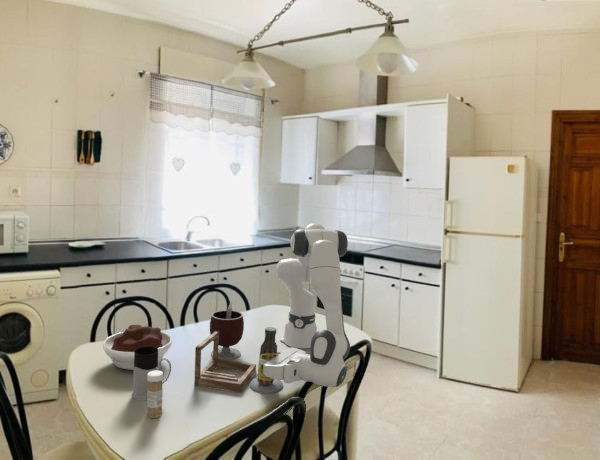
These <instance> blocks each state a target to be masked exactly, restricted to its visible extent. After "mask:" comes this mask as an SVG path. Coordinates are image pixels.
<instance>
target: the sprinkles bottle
mask: <svg viewBox="0 0 600 460" xmlns="http://www.w3.org/2000/svg"><path fill="white" fill-rule="evenodd" d="M163 379H164V372H163V371H162V370H155V371H151V372H149V373H148V374H147V380H148V389H147V401H146V405H147V410H146V411H147V413H146V416H147V417H148V418H151V419H155V418H156V419H157V418H160V417H161V416H162V414H163V411H162V410H163V408H162V407H163V384H162V383H163Z"/></svg>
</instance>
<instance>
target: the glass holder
mask: <svg viewBox="0 0 600 460" xmlns="http://www.w3.org/2000/svg"><path fill="white" fill-rule="evenodd" d="M164 360H165V361H166V362H167V363H168V373H167V377H166V379H164V381H162V385H163V384H165V383H166V382H167V381H168V379H169V378H170V376H171V372H172V363H171V360H169V359H168V358H166V357H163V358H162V359H161V360H160V362H159V363H158V349H157V348H155V347H141V348H138V349H136V350H135V351H134V370H133V376H132V377H133V380H132V381H133V382H132V383H133V386H132V387H133V388H132V392H131V398H133V399H134V400H139V401H146V400H147V389H148V380H147V374H148V373H149V372H151V371H155V370H158V371H160V370H161V365H162V361H164Z"/></svg>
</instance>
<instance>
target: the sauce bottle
mask: <svg viewBox="0 0 600 460" xmlns="http://www.w3.org/2000/svg"><path fill="white" fill-rule="evenodd" d="M264 333H265V334H264V341H263V342H262V344H261V346H260V349H259V350H260V351H259V355H258V356H259V358H258V360H259V359H261V358H265V359H266V360H267V361H268V360H269V361H270V360H271V359H273V358H274V357H276V356H277V352H278V345H277V342H276V335H277V328H276V327H273V326H272V327H271V326H267V327H265V329H264ZM256 378H257V381H258V382H259V383H260V384H263V385H269V384H272V383H273V381H274V379H273V378H270V377H267V376H265V375H264V374H263V365H262V364H259V363H258V366H257V377H256Z"/></svg>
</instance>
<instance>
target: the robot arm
mask: <svg viewBox="0 0 600 460" xmlns="http://www.w3.org/2000/svg"><path fill="white" fill-rule="evenodd" d="M348 247H349V240H348V236H347V234H346V233H345V232H344V231H341V230H337V229H336V230H333V229H328V228H327V229H326V228H325V227H324V226H323V225H322V224H319V223H316V222H315V223H310V224H308V225H307V226H306V227H305V228H301V229H300V228H299V229H296V230H295V231H294V232H292V235H291V238H290V248H291V252H292V253H293V254H294V256H296V257H297V258H285V259H280V260H279V261H278V262H277V264H276V266H275V275H276V278H277V279H278V280H279V281H280V282H281V283H282V284H283V285H284V286H285V287H286V289H287V291H288V293H289V301H290V302H289V305H290V308H289V311H288V321H287V322H286V323H285V325H284V335H283V336H281V337H280V340H279V341H280V342H282V343H284V344H285V345H287V346H289V348H287V349H285V350H283V351H277V356H276V357H274V358H273V359H271V360H270V361H269V360H268V361H267V360H266V359H265V358H261V359H259V358H258V365H259V364H262V365H263V374H264V375H265V376H267V377H270V378H273V379H277V380H280V381H283V382H284V383H285V384H291V383H294V382H295V383H296V382H298V381H299V382H300V381H302V382H303V381H304V382H312V383H313V384H316V385H317V386H318V385H319V386H321V387H322V386H323V387H327V388H338V387H340V386H341V385H342V384H343V382H344V380H346V379H345V378H346V376H347V372H348V367H347V366H346V363H345V361H344V360H346V359H347V357H348V356H349V354H350V352H351V351H350V350H351V343H350V341H349V339H348V336H347V334H346V330H345V324H344V315H343V304H342V303H343V302H342V293H341V289H342V288H341V262H340V258H341V257H344V256H345V255H346V254H347V251H348ZM304 284H310V287H311V290H312V291H313V292H311V291H309V290H307V289H305V288H304V287H303V285H304ZM313 293H315V294H316V295H314V294H313ZM316 296H317V297H318V299H319V300H320V302H321V303H322V304H323V305H322V306H323V308H324V313H325V325H326V327H325V328H326V329H321V330H318V326H317V323H316V312H315V307H316V298H315V297H316ZM303 349H309V353H307V351H305V350H303Z"/></svg>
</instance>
